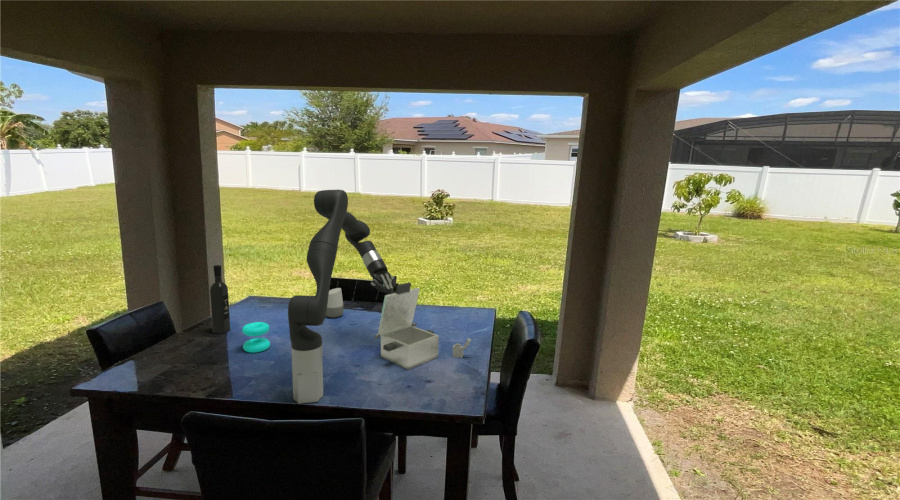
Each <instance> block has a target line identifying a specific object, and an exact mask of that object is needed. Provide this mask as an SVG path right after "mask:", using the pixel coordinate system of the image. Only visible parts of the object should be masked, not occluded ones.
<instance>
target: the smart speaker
mask: <svg viewBox="0 0 900 500" xmlns="http://www.w3.org/2000/svg"><path fill="white" fill-rule="evenodd" d="M343 299H344V298H343V293H342V288H341V287H336V288H332V289H329V296H328V304H327V312H326V316H325V317H327V318H330V319H337V318H340V317H342V316H343V313H344V301H343Z"/></svg>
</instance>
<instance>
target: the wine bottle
mask: <svg viewBox="0 0 900 500" xmlns="http://www.w3.org/2000/svg"><path fill="white" fill-rule="evenodd" d="M213 272H214V273H213V274H214V275H213V276H214V277H213V278H214V282H213V283H212V284H211V285H210V288H209V298H210V313H211V326H212V327H211V328H212V333H213V334H218V335H223V334H226V333H228V332H229V331H231V321H230V320H231V318H230V317H231V316H230V302H229V289H228V288H229V287H228V285H227V284H226V283H225V282H224V281H223V279H222V278H223V277H222V265H219V264H217V265H213Z"/></svg>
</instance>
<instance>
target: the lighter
mask: <svg viewBox="0 0 900 500" xmlns="http://www.w3.org/2000/svg"><path fill="white" fill-rule="evenodd" d="M471 341H472V339H471V338H470V337H469V338H467V339H466V341H465V344H463V345H462V343H455V344H453V346H452V358H458V359H459V358H461V359H464V349H465V350H467V348H468V346H469V344H470V343H471Z"/></svg>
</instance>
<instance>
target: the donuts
mask: <svg viewBox="0 0 900 500" xmlns="http://www.w3.org/2000/svg"><path fill="white" fill-rule="evenodd" d="M269 330H270V325H269V324H268V323H267V322H263V321H256V322H250V323H247V324H245V325H244V326H243V327H242V329H241V331H242V333H243V334H244V335H246V336H248V337H254V338H251V339H248V340H246V341H245V342H244V343H243V346H242V349H243V350H244V351H245V352H247V353H253V354H255V353H261V352H263V351H266V350H268V349H269V348H270V346H271V342H270V340H269V339H267V338H264V337H260V336H262V335H264V334H267V333H268V332H269Z"/></svg>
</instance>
